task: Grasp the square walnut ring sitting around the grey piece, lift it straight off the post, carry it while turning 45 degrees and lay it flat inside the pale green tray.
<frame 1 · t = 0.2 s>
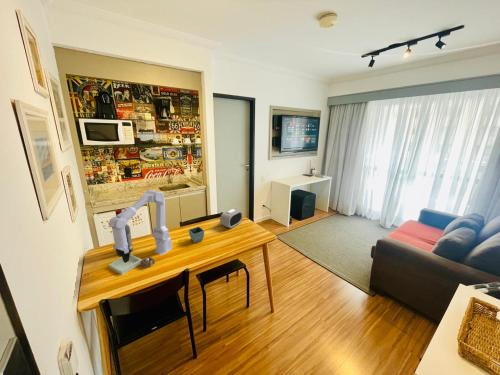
hand: (123, 258, 115), 10 cm above the table, fingers open, 7 cm apart
ring: (147, 264, 125), resting on grey piece
flower pot: (196, 241, 154), on the table
alarm clock: (231, 225, 181), on the table
liquor: (125, 251, 138), on the table
tray: (126, 265, 124), on the table
grey piece: (147, 264, 126), on the table
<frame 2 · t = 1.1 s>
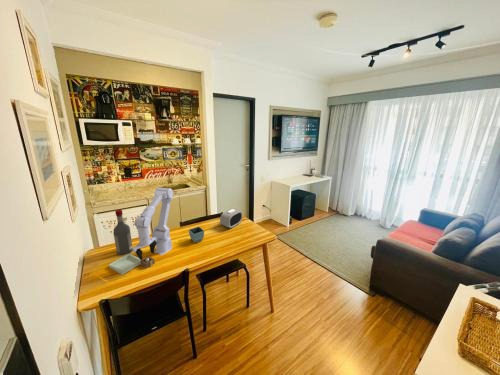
hand: (146, 256, 124), 6 cm above the table, fingers open, 7 cm apart
nothing on the table moved.
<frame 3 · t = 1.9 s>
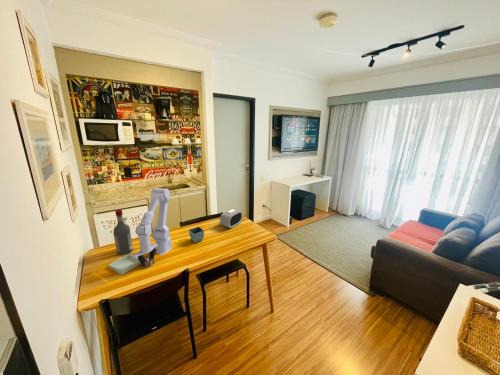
hand: (147, 262, 125), 2 cm above the table, fingers closed on ring, 5 cm apart
ring: (147, 264, 125), resting on grey piece, touching gripper
everything else where it was.
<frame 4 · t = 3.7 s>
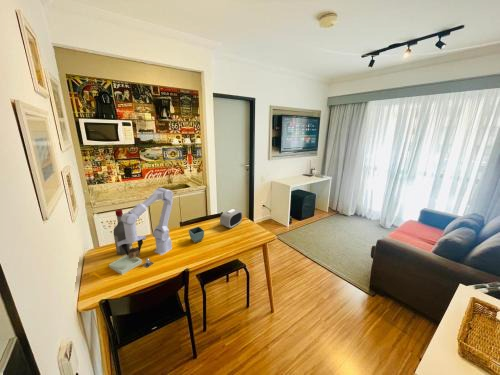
hand: (133, 252, 122), 9 cm above the table, fingers closed on ring, 5 cm apart
ring: (134, 254, 122), point 8 cm above the table, touching gripper
everything else where it was.
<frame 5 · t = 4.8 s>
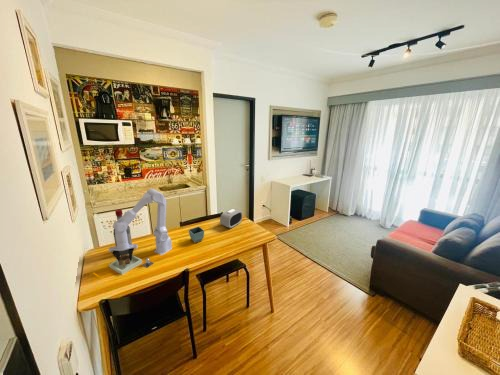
hand: (125, 260, 123), 4 cm above the table, fingers closed on ring, 5 cm apart
ring: (125, 261, 123), point 3 cm above the table, touching gripper
everything else where it was.
when the fingers open (3 cm above the table, at t = 5.7 s): ring stays where it is, resting on tray.
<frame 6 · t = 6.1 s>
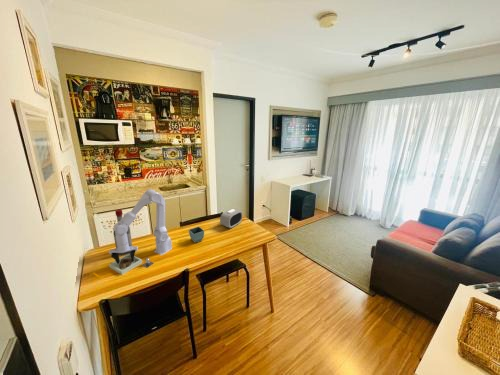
hand: (125, 262, 124), 3 cm above the table, fingers open, 7 cm apart
ring: (126, 265, 124), resting on tray
everything else where it was.
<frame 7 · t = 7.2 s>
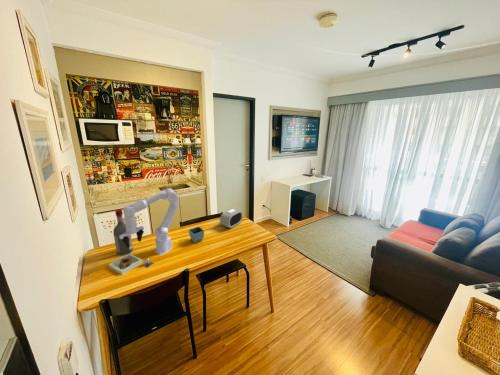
hand: (133, 244, 129), 10 cm above the table, fingers open, 7 cm apart
nothing on the table moved.
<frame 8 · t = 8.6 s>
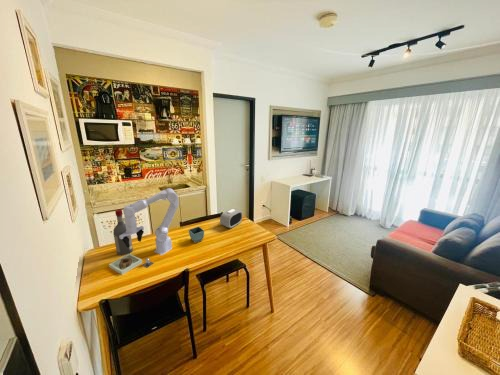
hand: (133, 244, 129), 10 cm above the table, fingers open, 7 cm apart
nothing on the table moved.
at the end: ring inside the target area on the tray (0.1 cm from its centre), point 0.5 cm above the tray's base; ring tilted 0°; the gripper is holding nothing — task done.
